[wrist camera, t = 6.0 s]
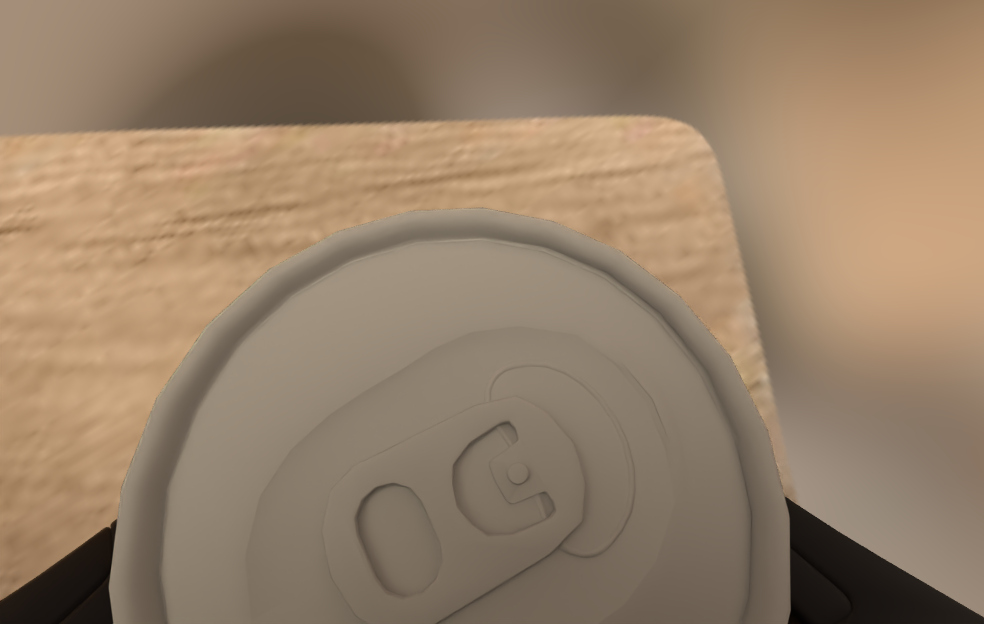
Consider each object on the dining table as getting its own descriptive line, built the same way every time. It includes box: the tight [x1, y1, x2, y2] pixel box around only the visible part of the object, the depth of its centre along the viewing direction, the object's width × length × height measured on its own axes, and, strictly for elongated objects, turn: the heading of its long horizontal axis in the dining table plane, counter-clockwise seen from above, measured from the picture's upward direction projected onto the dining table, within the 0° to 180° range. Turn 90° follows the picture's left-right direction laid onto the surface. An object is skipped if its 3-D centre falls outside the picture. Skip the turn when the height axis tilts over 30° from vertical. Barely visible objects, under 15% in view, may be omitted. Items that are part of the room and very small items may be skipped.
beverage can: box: [109, 208, 791, 624], centre depth 9 cm, size 5×5×12 cm
